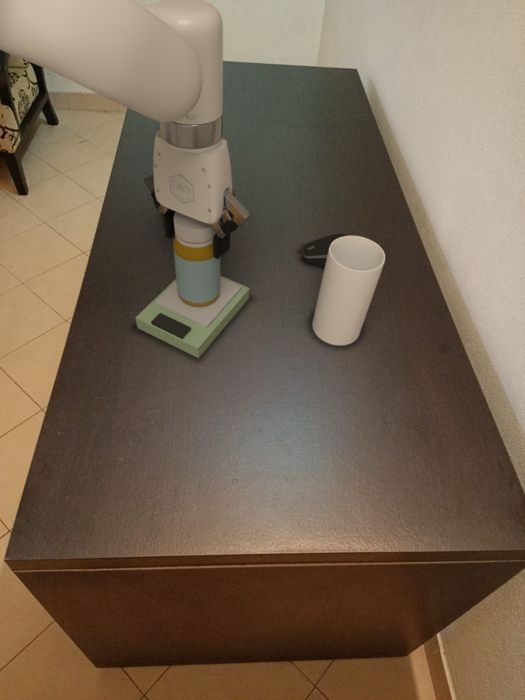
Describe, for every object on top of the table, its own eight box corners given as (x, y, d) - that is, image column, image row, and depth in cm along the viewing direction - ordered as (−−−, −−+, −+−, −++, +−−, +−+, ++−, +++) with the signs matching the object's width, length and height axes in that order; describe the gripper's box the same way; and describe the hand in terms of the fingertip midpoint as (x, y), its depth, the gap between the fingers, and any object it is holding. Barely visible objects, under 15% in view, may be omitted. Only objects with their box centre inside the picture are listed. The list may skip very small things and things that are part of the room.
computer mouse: (300, 244, 94) (302, 227, 91) (360, 246, 95) (365, 230, 92) (303, 267, 89) (306, 250, 86) (366, 269, 90) (371, 253, 87)
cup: (354, 351, 77) (380, 278, 64) (306, 337, 78) (323, 262, 66) (364, 317, 82) (389, 243, 70) (318, 304, 83) (336, 229, 71)
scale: (198, 358, 74) (197, 345, 71) (137, 328, 77) (134, 314, 74) (249, 298, 83) (250, 284, 80) (192, 273, 86) (191, 259, 84)
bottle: (174, 306, 76) (166, 229, 64) (181, 277, 80) (175, 200, 69) (217, 310, 76) (217, 234, 64) (222, 281, 80) (222, 205, 69)
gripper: (114, 117, 57) (134, 236, 70) (237, 161, 52) (234, 279, 66) (152, 96, 61) (164, 212, 75) (269, 135, 57) (259, 250, 70)
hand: (197, 243), depth 70 cm, fingers open, 7 cm apart
